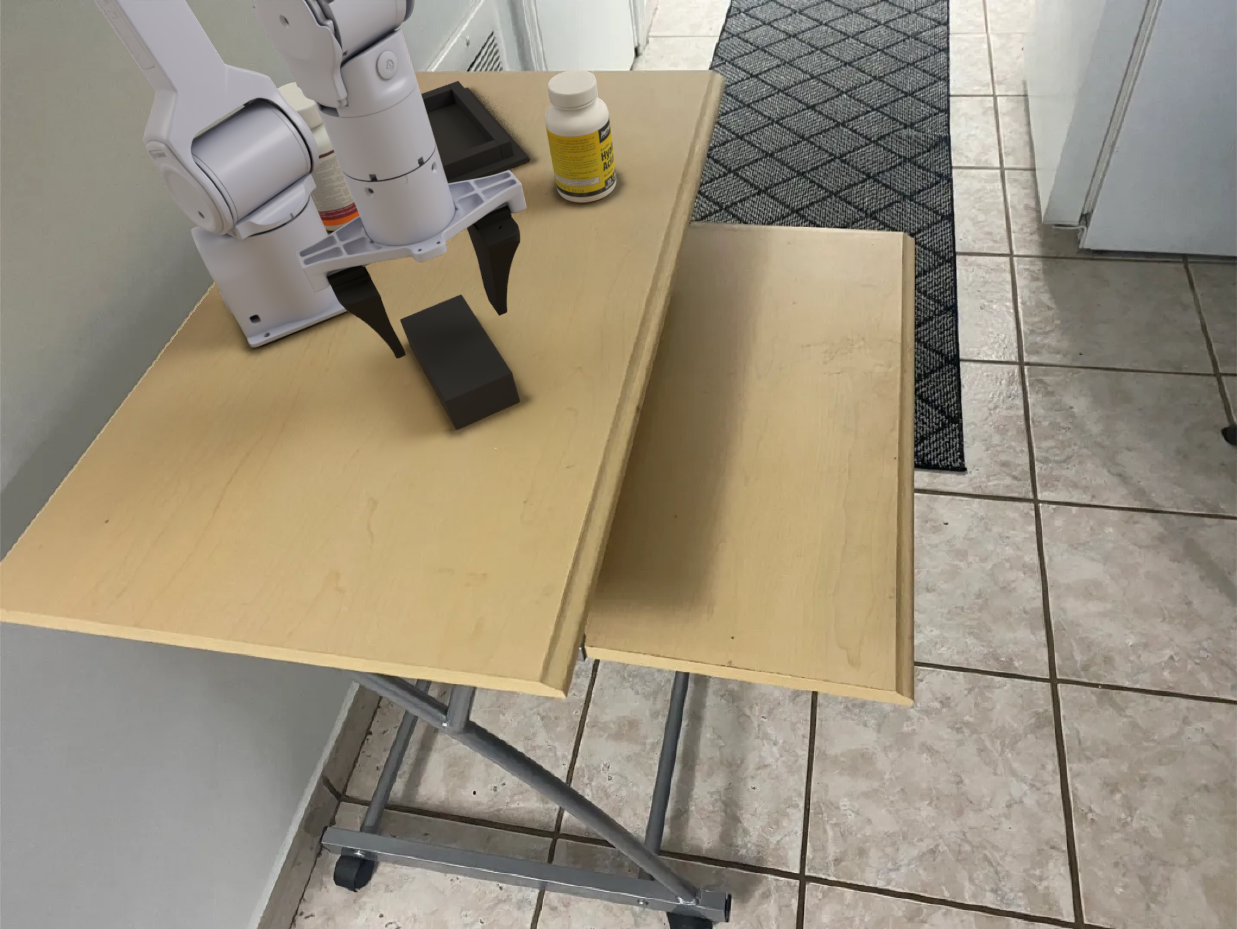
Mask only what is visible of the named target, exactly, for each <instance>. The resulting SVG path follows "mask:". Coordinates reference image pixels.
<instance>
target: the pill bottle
mask: <svg viewBox="0 0 1237 929" xmlns="http://www.w3.org/2000/svg"><path fill="white" fill-rule="evenodd" d="M277 89H278V90H279V92H280V93H281V94H282V96H283V97H284V98H285V100H286V101H287V102H288V103H289V105H290V106H291V107H292V108H294V109H295V110H296V111H297V112H298V114H299V115H300V116H301V117H302V118H303V120H304V121H305V122H306V124H307V125H308V127H309V129H310V130H311V132H312V134H313V136H314V138H315V141H316V144H317V148H318V156H319V165H318V168H317V170H316V171H315V172H314V173H312V174H311V175H312V177H313V180H314V182H315V184H316V188H315V189H314V190H313V191H312V192H311V193H310V194H311V197H312V199H313V201H314V204H315V206H316V208H317V211H318V213H319V215H320V218H321V220H322V222H323V224H324V227H325V229H326V231H327V232H328V231H329V232H334V231H336V230H337V229H339V228H340V227H342V226H344V225H345V224H347V223H348V222H350V221H351V220H353V219H354V218H356V217H358V216H359V213H358V210H357V208H356V205H355V202H354V200H353V197H352V195H351V192H350V190H349V187H348V185H347V183H346V180H345V177H344V175H343V172H342V170H341V167H340V165H339V162H338V160H337V157H336V155H335V152H334V150H333V147H332V145H331V142H330V140H329V137H328V135H327V132H326V130H325V127H324V124H323V122H322V119H321V117H320V114H319V112H318V109H317V107H316V104H315V102H314V100H311V99H308V98H306V97H305V96H304V94H303V93H302V90H301V89H300V88H299V87H297V85H296V82H295V81H293V82H289V83H285V84H284V85H281V86H279V87H277Z"/></svg>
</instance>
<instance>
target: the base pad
mask: <svg viewBox="0 0 1237 929" xmlns="http://www.w3.org/2000/svg"><path fill="white" fill-rule="evenodd" d="M421 95H422V98H423V102H424V105H425V109H426V112H427V115H428V119H429V122H430V125H431V129H432V132H433V135H434V139H435V142H436V145H437V149H438V152H439V155H440V159H441V162H442V166H443V169H444V172H445V176H446V179H447V182H448V184H449V183H454V182H460V181H466V180H472V179H477V178H483V177H487V176H492V175H495V174H499V173H502V172H505V171H507V170H510V169H513V168H515V167H518V166H520V165H524V164H526V163H529V162H530V161H531V160H530V156H529V155H528V153H526V151H524V149H523V148H522V147H521V146H520V145H519V144H518V143H517V141H516V140H515V139H514V138H513V137H512V136H511V134H510V133H509V132H508V131H507V130H506V129H505V128H504V127H503V125H502V124H501V123H500V121H498V119H497V118H495V116H494V115H493V114H492V113H491V112H490V110H488V108H487V107H486V106H485V105H484V104H483V103H482V101H480V99H479V98H478V97H477V96H476V95H475V94H474V92H473V91H472V90H471V89H470V88H469V87H468V86H467V87H464V86H463V85H462V83H461V82H460V80H456V81H453V82H451V83H448V84H445V85H442V86H438V87H437V88H434V89H431V90H428V91H426V92H421Z"/></svg>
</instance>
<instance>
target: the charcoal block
mask: <svg viewBox="0 0 1237 929" xmlns="http://www.w3.org/2000/svg"><path fill="white" fill-rule="evenodd" d="M399 322H400V324H401V326H402V330H403V332H404V335H405V336H406V340H407V342H408V344H409V347H410V349H411V351H412V353H413V355H414V356H415V358H416V360H417V361H418V363H419V365H420V367H421V369H422V371H423V373H424V374H425V376H426V378H427V380H428V382H429V383H430V385H431V387H432V389H433V392H434V393H435V395H436V396H437V398H438V400H439V402H440V404H441V405H442V407H443V409H444V411H445V413H446V414H447V417H448V418H449V420H450V422H451V424H452V426H453V428H454V429H455V430H456V431H458V430H460V429H462V428H464V427H466V426H469V425H471V424H473V423H476V422H478V421H480V420H482V419H484V418H486V417H489V416H491V415H493V414H495V413H498V412H500V411H502V410H504V409H508V408H509V407H512V406H513V405H516V404H518V403H520V402H521V399H520V395H519V392H518V388H517V385H516V381H515V378H514V375H513V371H512V370H511V368H510V367H509V365H508V363H507V362H506V361H505V359H504V358H503V356H502V354H501V353H500V351H499V350H498V348H497V347H496V345H495V344H494V342H493V340H492V339H491V337H490V336H489V335H488V333H487V332H486V330H485V328H484V327H483V325H482V323H481V322H480V321H479V319H478V318H477V316H476V314H475V313H474V311H473V310H472V308H471V307H470V305H469V304H468V302H467V300H466V299H465V297H464V296H463V294H458V295H456V296H454V297H451V298H448V299H446V300H444V301H441V302H439V303H436V304H434V305H431V306H429V307H427V308H424V309H422V310H419V311H417V312H415V313H412V314H410V315H407V316H404V317H402V318H400V319H399Z"/></svg>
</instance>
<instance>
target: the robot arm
mask: <svg viewBox="0 0 1237 929" xmlns="http://www.w3.org/2000/svg"><path fill="white" fill-rule="evenodd" d="M93 2H94V4H95V5H96V7H97V8H98V9H99V11H100V13H101V14H102V15H103V17H104V19H105V20H106V21H107V23H108V24H109V26H110V27H111V29H112V30H113V32H114V34H116V36H117V38H118V39H119V41H120V42H121V43H122V46H124V48H125V50H126V51H127V52H128V54H129V55H130V57H131V58H132V60H133V61H134V62H135V64H136V66H137V67H138V69H139V71H140V72H141V73H142V75H143V76H144V78H145V79H146V81H147V82H148V83H149V85H150V86H151V88H152V89H153V91H154V97H153V98H154V99H153V102H152V106H151V110H150V113H149V115H148V119H147V122H146V124H145V128H144V132H143V136H142V137H143V138H142V145H143V146H144V147H145V151H146V153H147V155H148V156H149V158H150V159H151V161H152V163H153V164H154V166H155V168H156V170H157V171H158V174H159V175H160V179H161V181H162V184H163V186H164V187H165V189H166V191H167V193H168V195H169V196H170V197H171V199H172V200H173V202H174V203H175V205H176V206H177V207H178V208H179V209H180V210H181V211H182V213H183V214H184V215H185V216H186V217H187V218H188V219H189V220H190V221H192V222H193V223H194V224H195V225H196V226H194V227H193V228H191V229H190V234H191V236H192V239H193V241H194V244H195V246H196V248H197V251H198V253H199V255H200V257H201V259H202V261H203V263H204V265H205V267H206V269H207V271H208V273H209V275H210V276H211V278H212V281H213V282H214V284H215V286H216V287H217V290H218V291H219V293H220V296H221V299H222V301H223V302H224V304H225V306H226V309H227V310H228V311H229V313H230V314H232V315H233V317H234V318H235V320H236V322H237V323H238V325H239V328H240V329H241V330H242V332H243V334H244V336H245V338H246V339H247V343H248V345H249V346H250V347H251V348H258V347H261V346H263V345H266V344H269V343H272V342H274V341H276V340H279V339H282V338H284V337H286V336H288V335H290V334H293V333H296V332H299V331H301V330H303V329H306V328H308V327H311V326H313V325H316V324H318V323H320V322H323V321H326V320H328V319H330V318H333V317H336V316H338V315H340V314H343V313H345V312H348V313H350V314H351V315H353V316H355V317H357V319H360V320H361V321H362V322H364V323H365V324H366V325H368V327H369V328H371V329H372V330H373V331H374V332H375V333H376V334H377V335H378V336H379V337H380V338H381V339H382V340H383V341H384V342H385V344H386V345H387V347H389V348H390V350H391V351H392V353H393V355H394V357H395V359H400V358H403V357H406V356H407V354H406V351H405V348H404V346H403V344H402V341H401V340H400V338H399V337H398V335H397V333H396V331H395V329H394V327H393V325H392V323H391V321H390V318H389V316H388V315H389V314H388V313H387V310H386V307H385V305H384V302H383V299H382V296H381V294H380V292H379V289H377V287H376V285H375V283H374V281H373V279H372V276H371V274H370V272H369V270H368V269H367V267H366V266H369V265H372V264H377V263H383V262H388V261H393V260H399V259H404V258H410V257H411V258H413V260H414V261H415V262H417V263H424V262H427V261H430V260H433V259H435V258H438V257H439V256H440V257H441V256H443V255H444V254H446V253H447V251H448V245H447V242H448V241H450V240H452V239H453V238H455V237H456V236H458V235H459V234H460V233H462V232H463V231H465V230H467V232H468V235H469V238H470V241H471V244H472V246H473V250H474V253H475V256H476V260H477V263H478V267H479V271H480V272H479V273H480V277H481V281H482V285H483V289H484V292H485V294H486V297H487V300H488V302H489V303H490V305H491V306H492V308H493V309H494V311H495V312H496V314H497V315H498V317H500V316H502V315H505V314H507V313H508V287H509V278H510V273H511V268H512V265H513V261H514V258H515V256H516V252H517V250H518V248H519V246H520V243H521V231H520V226H519V224H518V223H517V221H516V220H515V218H514V217H513V215H512V214H517V213H520V212H522V211H525V210H527V208H528V207H527V203H526V198H525V194H524V190H523V189H524V188H523V185H522V182H521V181H520V180H519V179H518V178H517V177H516V176H515V174H514V173H513V172H512V170H510V169H508V170H505V171H503V172H500V173H497V174H495V175H492V176H487V177H483V178H477V179H472V180H466V181H460V182H454V183H449V184H448V182H447V179H446V176H445V172H444V169H443V166H442V162H441V159H440V155H439V152H438V149H437V145H436V142H435V139H434V135H433V132H432V129H431V125H430V122H429V119H428V115H427V112H426V109H425V105H424V102H423V98H422V95H421V94H422V92H421V89H420V86H419V82H418V79H417V75H416V72H415V68H414V64H413V63H412V57H411V55H410V51H409V48H408V45H407V42H406V38H405V35H404V31H403V29H402V28H399V27H401V25H402V24H403V23H404V22H406V21H408V20H409V18H410V17H411V16H412V14H413V11H414V8H415V3H416V0H252V2H253V6H252V7H251V11H252V13H253V15H254V17H255V19H256V21H257V23H258V25H259V26H260V28H261V30H262V31H263V33H264V34H265V36H266V38H267V40H269V42H270V43H271V45H272V46H273V47H274V49H275V50H276V51H277V52H278V54H279V55H280V56H281V58H283V60H284V61H285V63H286V66H288V69H289V71H290V73H291V75H292V77H293V80H294V82H296V85H297V87H299V88H300V89H301V90H302V93H303V94H304V96H305V97H306V98H308V99H311V100H314V102H315V104H316V107H317V109H318V112H319V114H320V117H321V119H322V122H323V124H324V127H325V130H326V132H327V135H328V137H329V140H330V142H331V145H332V147H333V150H334V152H335V155H336V157H337V160H338V162H339V165H340V167H341V170H342V172H343V175H344V177H345V180H346V183H347V185H348V187H349V190H350V192H351V195H352V197H353V200H354V202H355V205H356V208H357V210H358V213H359V216H358V217H356V218H354V219H353V220H351V221H350V222H348V223H347V224H345V225H344V226H342V227H340V228H339V229H337V230H336V231H332V232H331V233H328V231H327V230H326V229H325V227H324V224H323V222H322V220H321V218H320V215H319V213H318V211H317V208H316V206H315V204H314V201H313V199H312V197H311V194H310V193H311V192H312V191H313V190H314V189H315V188H316V184H315V182H314V180H313V177H312V175H311V174H312V173H314V172H315V171H316V170H317V168H318V165H319V156H318V148H317V144H316V141H315V138H314V136H313V134H312V132H311V130H310V129H309V127H308V125H307V124H306V122H305V121H304V120H303V118H302V117H301V116H300V115H299V114H298V112H297V111H296V110H295V109H294V108H292V107H291V106H290V105H289V103H288V102H287V101H286V100H285V98H284V97H283V96H282V94H281V93H280V92H279V90H278V89H277V88H278V87H277V85H276V84H275V83H274V81H273V80H272V79H271V77H270V76H269V75H266V74H265V73H262V72H259V71H256V70H252V69H248V68H245V67H244V68H243V67H239V66H235V65H230V64H227V63H225V62H224V61H223V58H222V57H221V55H220V53H219V52H218V50H217V49H216V47H215V46H214V44H213V43H212V41H211V39H210V37H209V35H208V34H207V33H206V31H205V30H204V28H203V26H202V25H201V23H200V21H199V20H198V18H197V17H196V15H195V14H194V12H193V10H192V9H191V6H189V3H188V2H187V0H93ZM242 106H243V107H242ZM240 107H242V108H240ZM239 108H240V109H239ZM237 109H239V110H237ZM236 110H237V111H236ZM234 111H235V112H234ZM232 112H234V113H232ZM230 113H232V114H230ZM229 114H230V115H229ZM227 115H228V116H227ZM226 116H227V117H226ZM224 117H226V118H224ZM223 118H224V119H223ZM221 119H222V120H221ZM219 120H221V121H219ZM218 121H219V122H218ZM217 122H218V123H217ZM214 123H216V124H214ZM213 124H214V125H213ZM211 125H213V126H211ZM209 126H210V128H208V127H209ZM206 128H208V129H206ZM205 129H206V130H205ZM204 130H205V131H204ZM201 131H203V132H201ZM200 132H201V133H200ZM199 133H200V134H199Z"/></svg>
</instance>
